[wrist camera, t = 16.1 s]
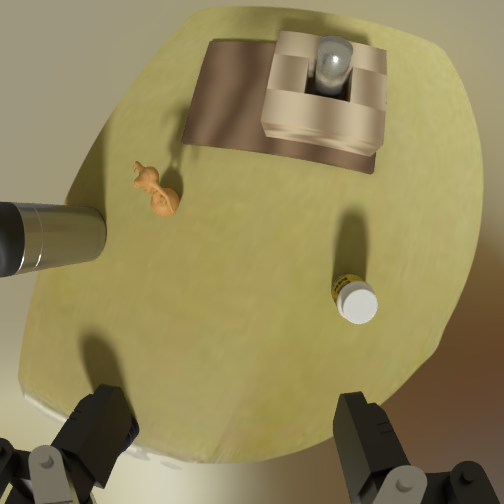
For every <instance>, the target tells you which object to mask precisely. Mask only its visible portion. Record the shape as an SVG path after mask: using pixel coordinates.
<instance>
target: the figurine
mask: <svg viewBox="0 0 504 504" xmlns="http://www.w3.org/2000/svg"><path fill="white" fill-rule="evenodd" d="M136 168H137V169H138V170H139V176H138V177H137V178H136V180H135V181H134V186H135V187H136V188H140V187H143V188H145V189H146V190H145V193H147V194H148V193H152V192H153V194H152V198H151V207H152V209H153V211H154V212H155V213H156V214H158V215H160V216H170V215H172V214H173V215H174V213H175V211H176V210H177V209H178V206H179V197H178V195H177V193H176V192H175V191H174V190H172V189H170V188H162V187H161V186H160V185H159V173H158V171H157V170H156V169H155V168H154V167H146V168H145V167H143V166H142V165H141V164H140V163H139V162H138V161H136V162H135V165H134V166H133V173H135V169H136ZM175 214H176V213H175Z"/></svg>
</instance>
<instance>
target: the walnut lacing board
mask: <svg viewBox="0 0 504 504" xmlns="http://www.w3.org/2000/svg"><path fill="white" fill-rule="evenodd" d="M275 48H276V44H275V43H261V42H239V41H211V42H209V45H208V48H207V51H206V54H205V58H204V61H203V64H202V67H201V70H200V74H199V77H198V80H197V84H196V87H195V91H194V94H193V98H192V102H191V105H190V109H189V113H188V117H187V121H186V125H185V129H184V133H183V137H182V141H181V142H183V143H184V144H186V145H198V146H209V147H219V148H228V149H236V150H244V151H252V152H259V153H266V154H272V155H279V156H285V157H291V158H296V159H302V160H307V161H313V162H318V163H323V164H328V165H332V166H337V167H342V168H346V169H351V170H355V171H359V172H363V173H367V174H372V173H373V172H374V166H375V157H376V152H375V153H374V154H373V155H372V156H371V157H369V156H365V155H361V154H357V153H353V152H348V151H344V150H339V149H335V148H330V147H325V146H320V145H315V144H310V143H304V142H298V141H293V140H286V139H280V138H273V137H266V135H265V132H264V129H263V126H262V123H261V115H262V110H263V105H264V100H265V95H266V91H267V86H268V81H269V76H270V71H271V66H272V62H273V57H274V52H275ZM314 85H315V81H309V80H308V85H307V91H306V94H311V95H313V94H314ZM345 95H346V87H343V88H342V91H341V94H340V97H339V100H342V101H345Z"/></svg>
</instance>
